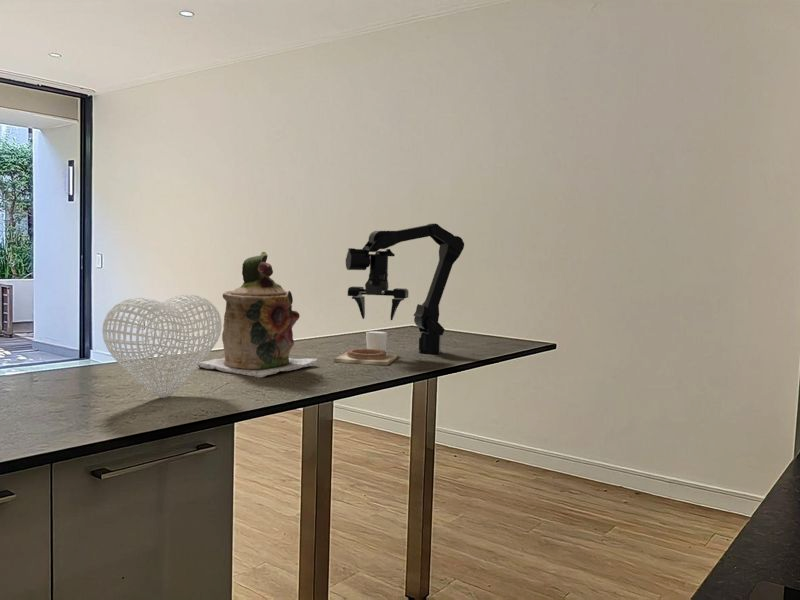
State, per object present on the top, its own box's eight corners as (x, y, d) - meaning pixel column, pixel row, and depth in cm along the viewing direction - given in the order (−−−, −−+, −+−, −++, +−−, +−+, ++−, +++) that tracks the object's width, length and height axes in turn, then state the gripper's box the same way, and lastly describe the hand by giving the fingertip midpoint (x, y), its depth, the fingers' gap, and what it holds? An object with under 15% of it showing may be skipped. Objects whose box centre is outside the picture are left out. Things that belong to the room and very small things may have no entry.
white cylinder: (360, 353, 228) (361, 331, 227) (376, 351, 233) (376, 330, 232) (376, 356, 223) (376, 334, 222) (391, 354, 228) (392, 332, 228)
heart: (140, 414, 140) (141, 302, 139) (86, 404, 147) (85, 297, 146) (234, 391, 165) (235, 295, 163) (184, 383, 172) (184, 291, 170)
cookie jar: (192, 368, 192) (194, 249, 190) (252, 357, 214) (254, 250, 211) (265, 379, 181) (268, 253, 178) (320, 366, 203) (323, 253, 200)
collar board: (397, 357, 221) (397, 349, 221) (387, 365, 207) (387, 356, 207) (347, 354, 225) (347, 346, 224) (334, 361, 210) (334, 353, 210)
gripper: (343, 270, 220) (342, 320, 221) (402, 272, 216) (401, 323, 217) (352, 269, 231) (351, 317, 232) (409, 271, 227) (407, 320, 228)
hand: (377, 319), depth 227 cm, fingers open, 9 cm apart
